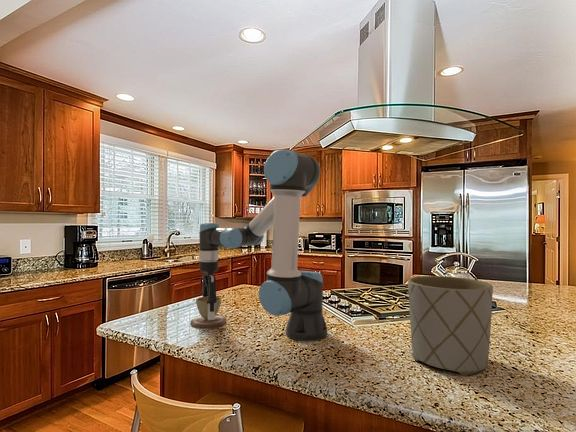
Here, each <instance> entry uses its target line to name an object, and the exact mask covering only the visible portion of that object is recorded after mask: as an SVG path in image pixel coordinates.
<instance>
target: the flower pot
mask: <svg viewBox="0 0 576 432" xmlns="http://www.w3.org/2000/svg"><path fill="white" fill-rule="evenodd" d="M211 300H212V299H211ZM216 300H217V302H215V315H217V313H218V312H219V310H220V307H221V303H222V298H221V297H218V296H216ZM207 302H208V297H203V296H202V297H198V298H196V299H195V303H196V304H195V305H196V307H197V310H198V313H199V314H200V316H202V318H208V304H207Z"/></svg>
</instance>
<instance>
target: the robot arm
mask: <svg viewBox="0 0 576 432" xmlns="http://www.w3.org/2000/svg"><path fill="white" fill-rule="evenodd" d="M321 172H322V171H321V166H320V163H319V162H318V161H317V159H316V158H315V157H314V156H311V155H309V154H304V153H301V152H297V151H294V150H292V149H284V148H283V149H281V148H280V149H277V150H274V151H272V153H271V154H270V155H269V156H268V157H267V159H266V161H265V163H264V167H263V174H264V178H265V179H266V181H267V182H268V183H269V184H270V188H269V189H270V190H269V191H270V192H271V193H272V195H273V197H272V198H271V200H269V201H268V203H267V204H266V205H265V206H264V207H263V208H262V209H261V210H260V211H259V212H258V213H257V214H256V215H255V217H253V219H252V220H251V221H250V222H249V223H248V224H247V225H246V226H245V227H220V226H219V223H218V222H202V223H200V225H199V231H198V232H199V233H198V234H199V250H198V253H199V254H198V255H199V257H198V259H199V267H198V268H199V271H200V272H202V274H201V275H202V285H201V295H202V297H208V302H207V304H208V320H215V302H217V300H216V297H217V288H216V287H217V286H216V279H217V278H216V275H214V272H217V271H219V261H218V260H219V255H220V252H219V250H220V249H219V248H227V249H236V248H239V247H246V246H247V247H249V246H252V247H253V246H257V245H260V244H262V243H263V240H264V238H265V236H264V235H265V233H267V232H268V230H270V229H271V227H272V248H271V249H272V251H271V267H270V269H269V270H267V271H266V281H263V283H262V284H261V285H260V286H259V290H258V299H259V302H260V304H261V307H263V309H264V311H265V312H266V313H268V314H270V315H271V316H275V317H280V316H286V315H288V314H289V317H288V320H287V322H286V326H285V336H286V337H287V338H289V339H292V340H295V341H299V342H300V341H301V342H315V341H320V340H324V339H325V338H326V337H327V336H328V326H327V324H326V323H327V322H326V320H325V318H324V314H323V311H324V310H323V301H324V299H323V297H324V296H323V294H324V292H323V289H324V286H323V285H324V281H323V279H324V278H323V275H322V273H321V272H319V271H311V270H310V271H309V270H299V269H298V260H299V259H298V258H299V257H298V256H299V237H300V236H299V235H300V216H301V215H300V212H301V198H302V197H303V198H305V197H307V196H308V195H309V194H310V193H311V192H312V191H313V190H314V188H316V185H317V184H318V182H319V180H320V178H321ZM211 299H212V300H211Z"/></svg>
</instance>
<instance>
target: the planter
mask: <svg viewBox="0 0 576 432" xmlns="http://www.w3.org/2000/svg"><path fill="white" fill-rule="evenodd" d="M407 283H408V284H407V286H408V287H407V288H408V289H407V290H408V305H409V306H408V308H409V325H410V336H411V337H410V338H411V351H412V356H413V359H414V361H415V362H419V361H420V362H422V363H425V364H426V365H428V366H432V367H435V368H438V369H442V370H447V371H451V372H453V371H454V372H456V373H459V374H460V375H461V376H463V377H464V376H466V377H467V376H470V375H473V374H476V373H478V372H481V371H483V370H484V369H486V368H487V367H488V364H489V356H490V342H491V332H492V331H491V327H492V314H493V313H492V312H493V311H492V310H493V309H492V308H493V295H494V293H493V291H494V290H493V289H494V286H493V285H492V284H491V283H490V282H489V283H488V282H487V281H483V280H478V279H474V278H473V279H472V278H465V277H458V276H448V275H447V276H446V275H445V276H444V275H421V276H414V277H410V278H409V279H408V280H407Z"/></svg>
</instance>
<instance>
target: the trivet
mask: <svg viewBox="0 0 576 432" xmlns="http://www.w3.org/2000/svg"><path fill="white" fill-rule="evenodd" d="M226 324H227V318H226V317H225V316H222V315H217V314H216V315H215V320H208V318H202V316H201V315H200V316H196V317H194V318H193V317H192V319H191V320H190V327H193V328H194V329H195V328H196V329H215V328H219V327H222V326H224V325H226Z"/></svg>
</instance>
